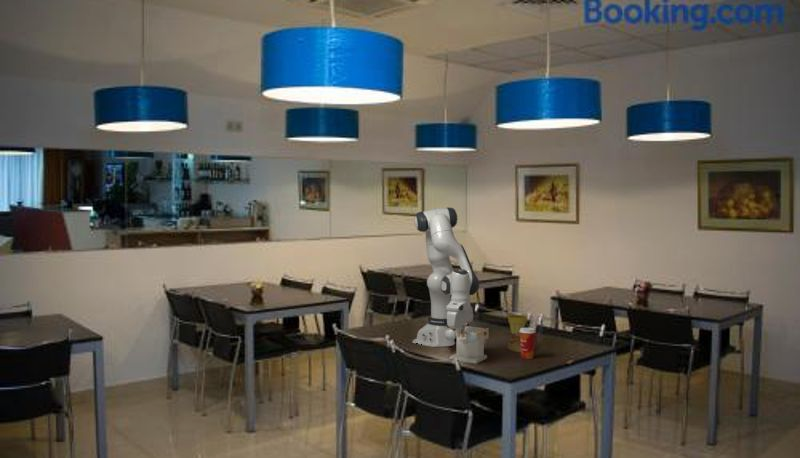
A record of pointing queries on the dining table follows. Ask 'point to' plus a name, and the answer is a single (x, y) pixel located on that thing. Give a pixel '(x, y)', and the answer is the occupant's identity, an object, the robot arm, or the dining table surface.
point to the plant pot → (516, 322)
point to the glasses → (470, 336)
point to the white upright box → (470, 347)
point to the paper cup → (527, 342)
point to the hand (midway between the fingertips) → (460, 334)
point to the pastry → (515, 343)
